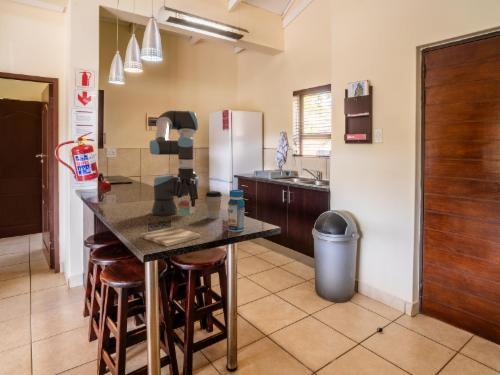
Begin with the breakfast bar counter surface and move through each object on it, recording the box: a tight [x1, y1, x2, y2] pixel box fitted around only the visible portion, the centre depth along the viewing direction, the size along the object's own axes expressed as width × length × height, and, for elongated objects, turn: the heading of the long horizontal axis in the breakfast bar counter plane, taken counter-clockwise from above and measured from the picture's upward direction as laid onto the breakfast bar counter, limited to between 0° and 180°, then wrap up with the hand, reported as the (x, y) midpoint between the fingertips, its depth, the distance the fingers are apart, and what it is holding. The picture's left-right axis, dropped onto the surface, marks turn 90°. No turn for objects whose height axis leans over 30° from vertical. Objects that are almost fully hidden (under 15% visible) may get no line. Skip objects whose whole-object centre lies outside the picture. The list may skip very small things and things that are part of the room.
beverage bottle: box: [227, 189, 246, 233], centre depth 161 cm, size 8×8×20 cm
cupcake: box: [177, 193, 192, 216], centre depth 168 cm, size 9×8×12 cm
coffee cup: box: [205, 190, 223, 220], centre depth 188 cm, size 9×9×15 cm
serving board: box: [140, 226, 201, 247], centre depth 148 cm, size 20×18×2 cm
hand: (186, 211), depth 169 cm, fingers closed on cupcake, 8 cm apart
